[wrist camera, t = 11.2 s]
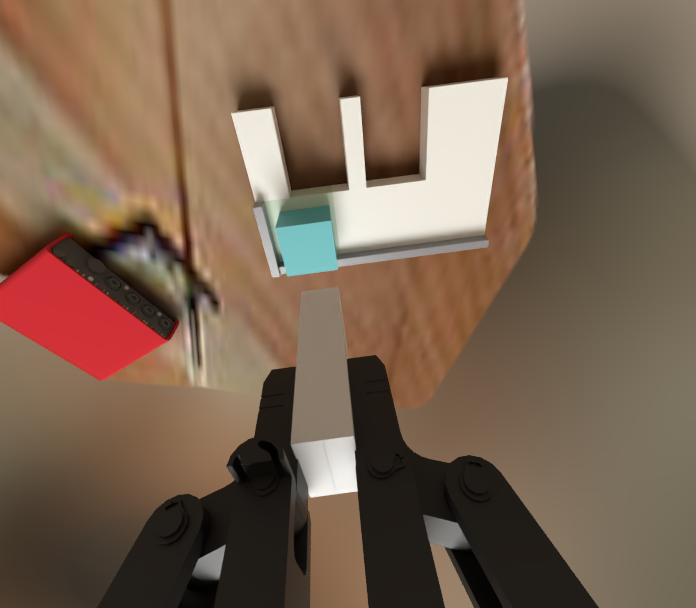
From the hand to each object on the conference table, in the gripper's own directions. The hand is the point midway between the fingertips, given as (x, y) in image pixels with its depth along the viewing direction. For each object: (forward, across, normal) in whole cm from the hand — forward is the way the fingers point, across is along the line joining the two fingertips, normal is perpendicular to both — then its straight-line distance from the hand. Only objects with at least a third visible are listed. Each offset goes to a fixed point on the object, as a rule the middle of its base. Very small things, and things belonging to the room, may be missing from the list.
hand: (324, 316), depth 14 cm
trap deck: (+30, +6, -3) cm, 31 cm away
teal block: (+27, -2, -8) cm, 29 cm away
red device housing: (+31, -35, -16) cm, 50 cm away
